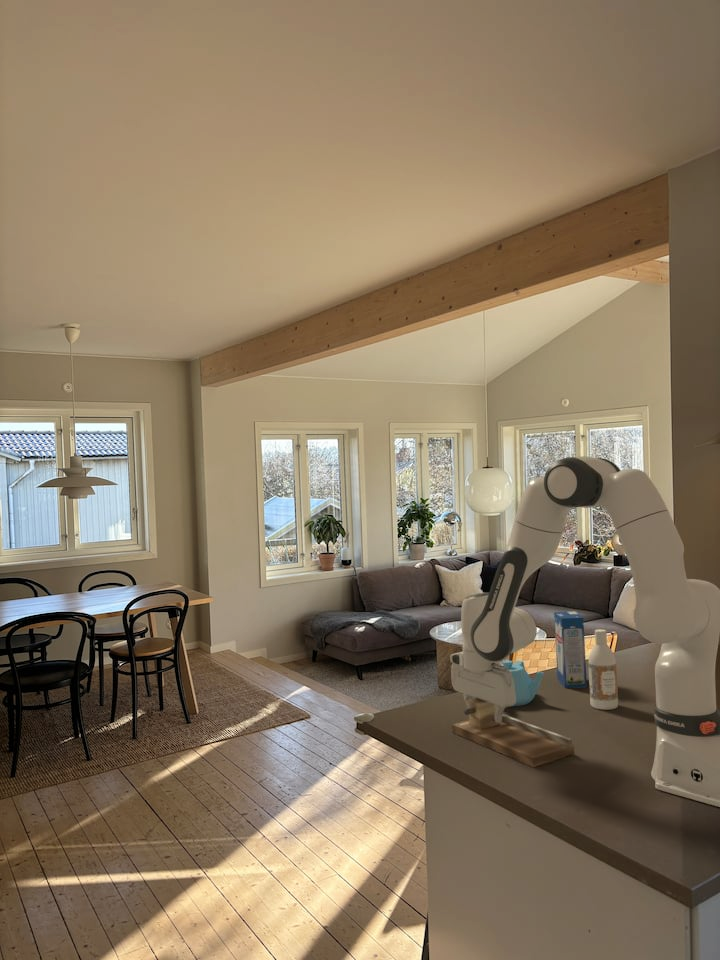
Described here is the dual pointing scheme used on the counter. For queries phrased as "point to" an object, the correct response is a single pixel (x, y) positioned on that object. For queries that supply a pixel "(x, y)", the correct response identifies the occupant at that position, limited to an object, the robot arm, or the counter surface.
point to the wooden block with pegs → (480, 713)
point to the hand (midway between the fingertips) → (484, 716)
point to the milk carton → (570, 649)
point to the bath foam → (602, 674)
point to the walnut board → (518, 740)
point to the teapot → (523, 682)
